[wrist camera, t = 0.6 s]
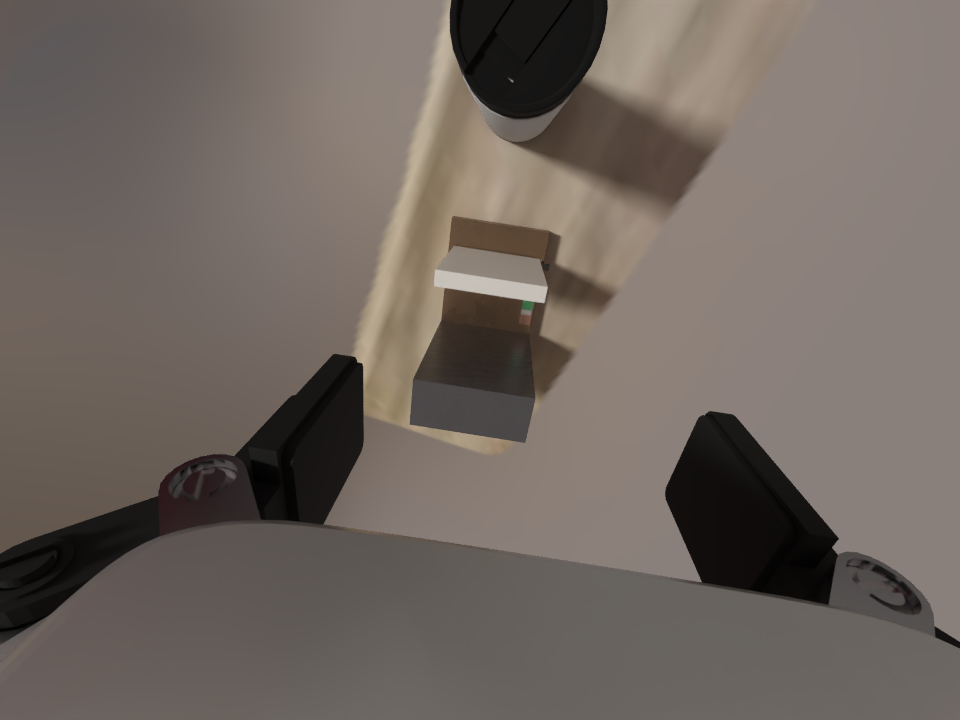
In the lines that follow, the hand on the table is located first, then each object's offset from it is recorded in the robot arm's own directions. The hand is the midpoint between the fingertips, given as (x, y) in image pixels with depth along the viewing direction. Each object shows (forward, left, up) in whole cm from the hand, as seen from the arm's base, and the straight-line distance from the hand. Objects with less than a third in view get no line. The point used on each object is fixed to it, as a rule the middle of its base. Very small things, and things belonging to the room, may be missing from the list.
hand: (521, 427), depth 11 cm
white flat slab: (+1, -1, -29) cm, 29 cm away
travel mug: (-12, -2, -30) cm, 32 cm away
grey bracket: (+5, -2, -30) cm, 30 cm away
